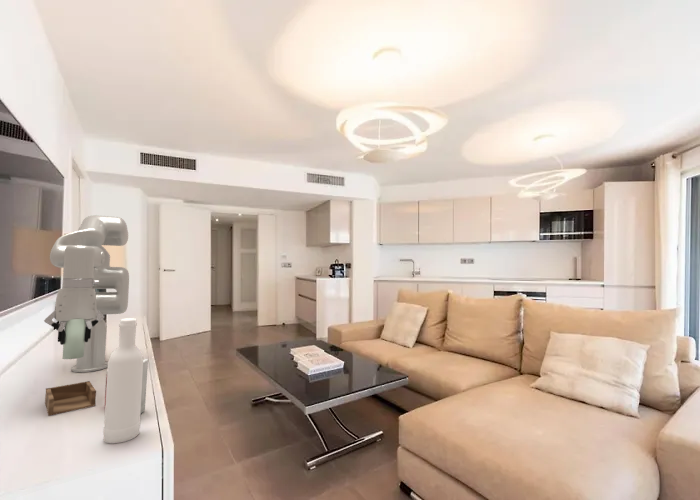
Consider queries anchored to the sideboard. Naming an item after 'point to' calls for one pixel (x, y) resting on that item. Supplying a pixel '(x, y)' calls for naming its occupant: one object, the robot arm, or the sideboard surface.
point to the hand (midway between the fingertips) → (74, 342)
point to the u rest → (69, 398)
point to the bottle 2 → (124, 387)
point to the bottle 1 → (74, 339)
